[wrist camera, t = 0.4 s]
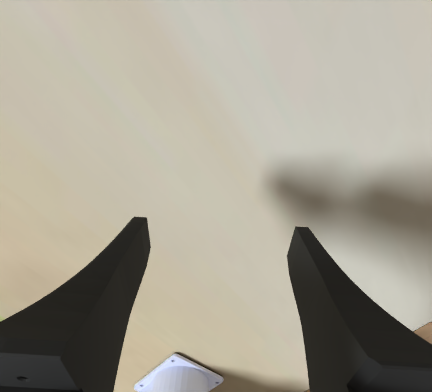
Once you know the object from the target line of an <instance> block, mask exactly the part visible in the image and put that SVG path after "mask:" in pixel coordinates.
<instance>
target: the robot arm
mask: <svg viewBox="0 0 432 392" xmlns="http://www.w3.org/2000/svg"><path fill="white" fill-rule="evenodd" d="M150 248H151V246H150V239H149V231H148V223H147V218H145V217H134V218H132V219H131V221H130V222H129V223H128V224H127V225H126V226H125V228H124V229H123V230H122V231H121V232H120V233H119V234H118V235H117V237H116V238H115V239H114V240H113V241H112V242H111V243H110V244H109V245H108V246H107V247H106V248H105V249H104V250H103V251H102V252H101V253H100V254H99V255H98V256H97V257H96V258H95V259H94V260H93V261H91V262H90V263H89V264H88V265H87V266H86V267H85V268H83V269H82V270H81V271H80V272H78V273H77V274H76V275H75V276H74V277H72V278H71V279H69V280H68V281H67V282H65V283H64V284H63V285H61V286H60V287H59V288H57V289H56V290H54V291H53V292H51V293H50V294H48V295H47V296H45V297H43V298H42V299H40V300H39V301H37V302H35V303H34V304H32V305H30V306H29V307H27V308H25V309H23V310H22V311H20V312H18V313H16V314H14V315H12V316H10V317H9V318H7V319H5V320H3V321H1V322H0V392H113V390H114V385H115V380H116V375H117V370H118V365H119V360H120V355H121V351H122V347H123V342H124V338H125V333H126V329H127V325H128V321H129V317H130V313H131V310H132V307H133V304H134V301H135V298H136V295H137V292H138V290H139V287H140V284H141V281H142V278H143V275H144V272H145V269H146V266H147V262H148V257H149V253H150ZM287 259H288V268H289V275H290V280H291V284H292V288H293V292H294V296H295V300H296V304H297V308H298V312H299V316H300V320H301V325H302V331H303V338H304V345H305V353H306V361H307V369H308V378H309V387H310V392H432V344H431V343H429V342H428V341H426V340H425V339H423V338H422V337H420V336H418V335H417V334H415V333H414V332H413V331H411V330H410V329H408V328H407V327H406V326H404V325H403V324H402V323H400V322H399V321H397V320H396V319H395V318H394V317H392V316H391V315H390V314H388V313H387V312H386V311H385V310H384V309H382V308H381V307H380V306H379V305H378V304H376V303H375V302H374V301H373V300H372V299H371V298H369V297H368V296H367V295H366V294H365V293H364V292H363V291H362V290H361V289H360V288H359V287H358V286H357V285H356V284H355V283H354V282H353V281H352V280H351V279H350V278H349V277H348V276H347V275H346V274H345V273H344V272H343V271H342V269H341V268H340V267H339V266H338V265H337V264H336V262H335V261H334V260H333V259H332V258H331V256H330V255H329V254H328V253H327V251H326V250H325V249H324V248H323V246H322V245H321V244H320V242H319V241H318V240H317V238H316V237H315V236H314V234H313V233H312V232H311V230H310V229H309V228H308V227H295V230H294V234H293V237H292V240H291V244H290V247H289V251H288V254H287ZM222 382H223V377H222V376H220V375H218V374H216V373H214V372H212V371H210V370H208V369H206V368H204V367H202V366H200V365H198V364H196V363H194V362H192V361H190V360H189V359H187V358H185V357H183V356H181V355H179V354H173V355H172V356H170V357H169V358H168V359H167V360H165V361H164V362H163V363H162V364H160V365H159V366H158V367H157V368H155V369H154V370H153V371H151V372H150V373H149V374H148V375H146V376H145V377H144V378H143V379H141V380H140V381H139V382H138V383H136V384H135V386H134V389H135V390H136V391H139V392H209V391H210V390H212V389H213V388H215V387H216V386H218V385H219V384H221V383H222Z"/></svg>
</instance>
